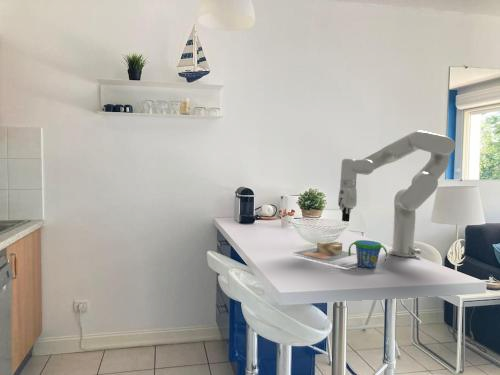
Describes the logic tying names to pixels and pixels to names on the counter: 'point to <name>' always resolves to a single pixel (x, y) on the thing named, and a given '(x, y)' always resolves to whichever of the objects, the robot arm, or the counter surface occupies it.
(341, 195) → the robot arm
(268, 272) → the counter surface
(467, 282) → the counter surface
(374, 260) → the snack cup
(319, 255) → the board
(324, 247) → the t block
